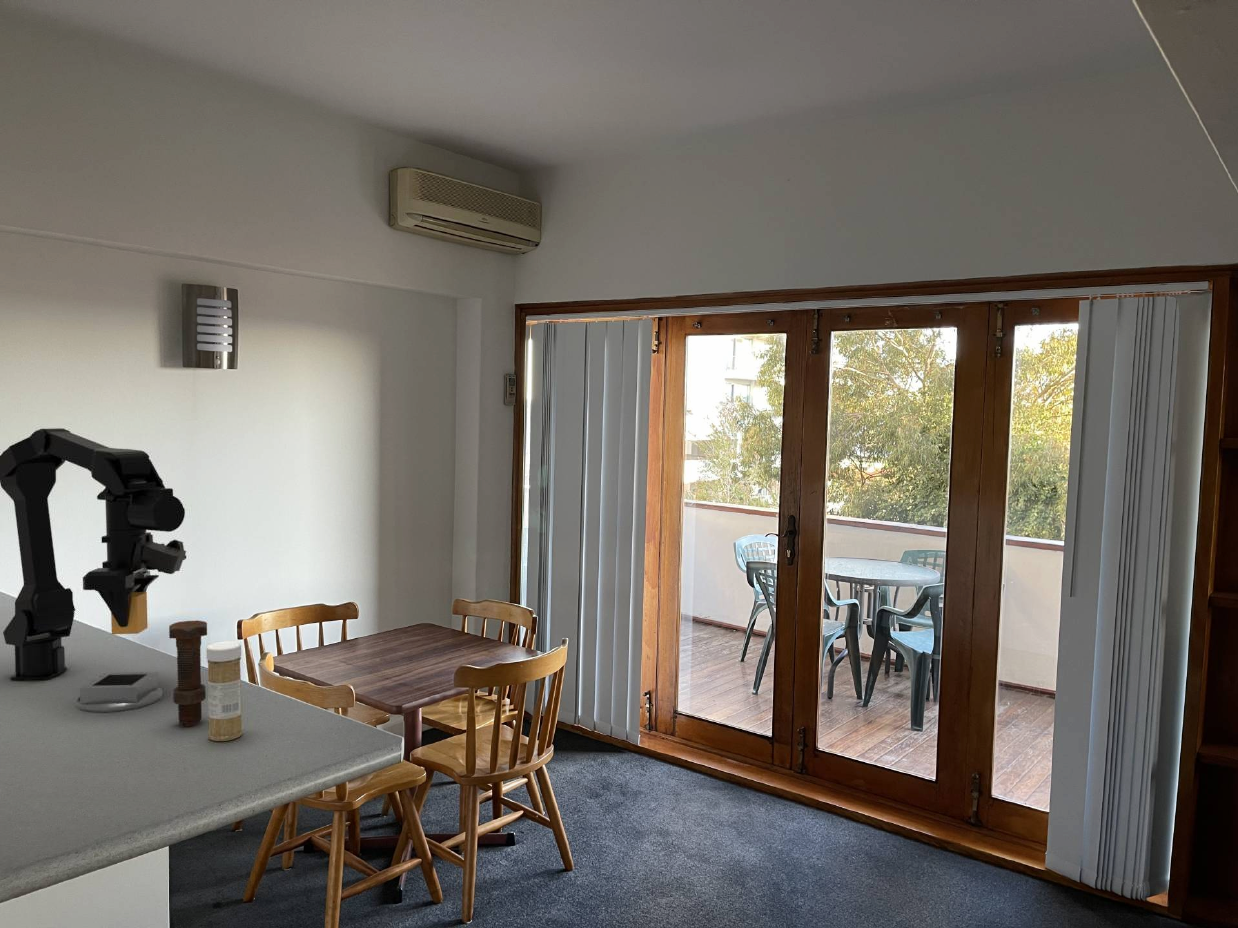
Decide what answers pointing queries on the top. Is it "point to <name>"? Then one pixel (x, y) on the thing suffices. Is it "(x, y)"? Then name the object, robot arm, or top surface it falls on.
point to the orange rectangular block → (134, 616)
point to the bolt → (189, 670)
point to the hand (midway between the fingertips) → (129, 623)
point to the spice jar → (224, 690)
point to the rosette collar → (120, 692)
